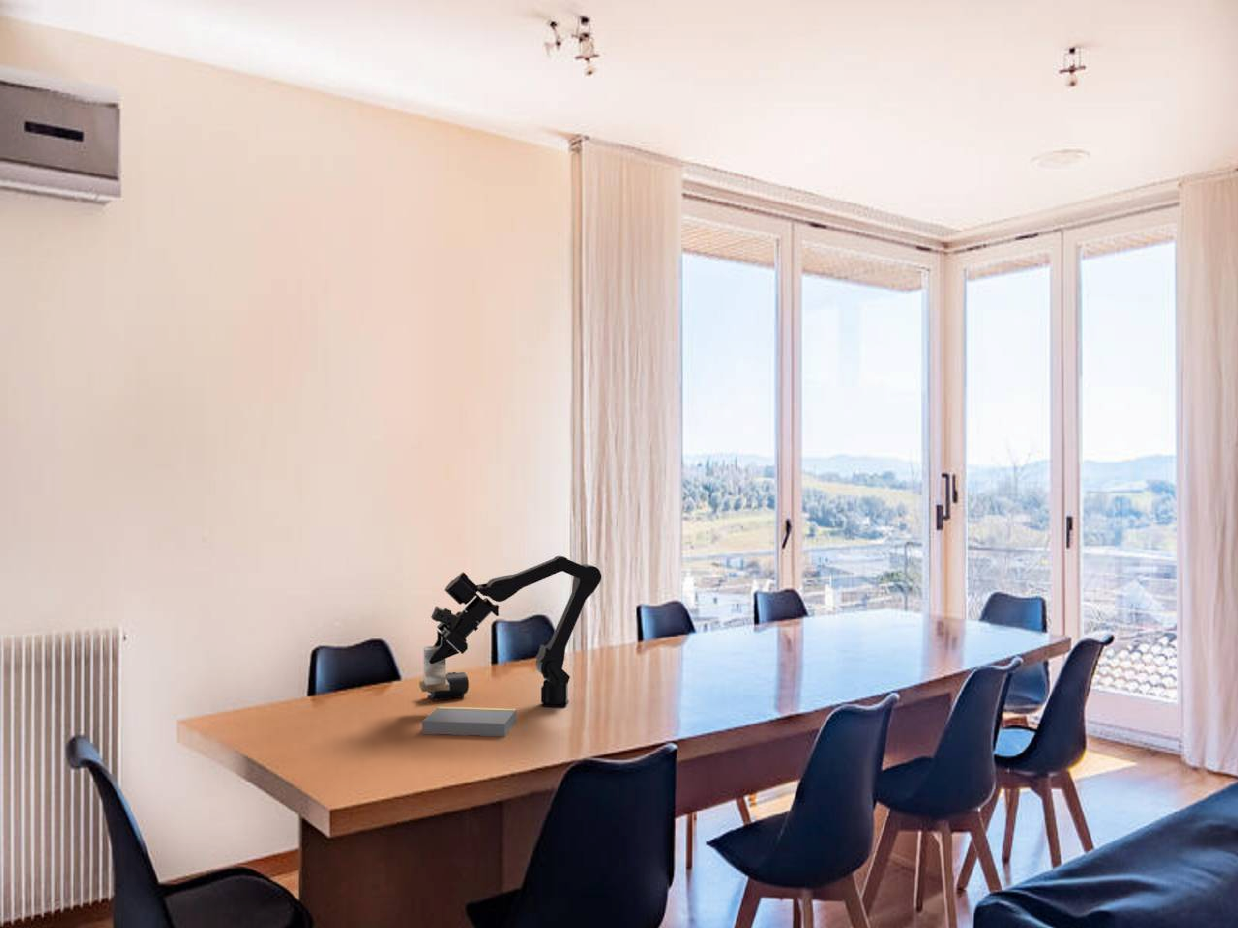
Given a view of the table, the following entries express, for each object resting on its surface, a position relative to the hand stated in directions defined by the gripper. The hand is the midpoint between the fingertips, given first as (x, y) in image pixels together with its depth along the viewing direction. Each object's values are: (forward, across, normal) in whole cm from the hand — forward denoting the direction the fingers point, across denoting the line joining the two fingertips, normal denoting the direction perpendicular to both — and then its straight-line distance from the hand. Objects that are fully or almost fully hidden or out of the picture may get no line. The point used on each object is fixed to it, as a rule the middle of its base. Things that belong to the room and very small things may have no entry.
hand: (429, 661), depth 241 cm
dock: (+4, +17, +15) cm, 23 cm away
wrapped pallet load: (+4, 0, +6) cm, 7 cm away
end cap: (+5, -16, +15) cm, 22 cm away
